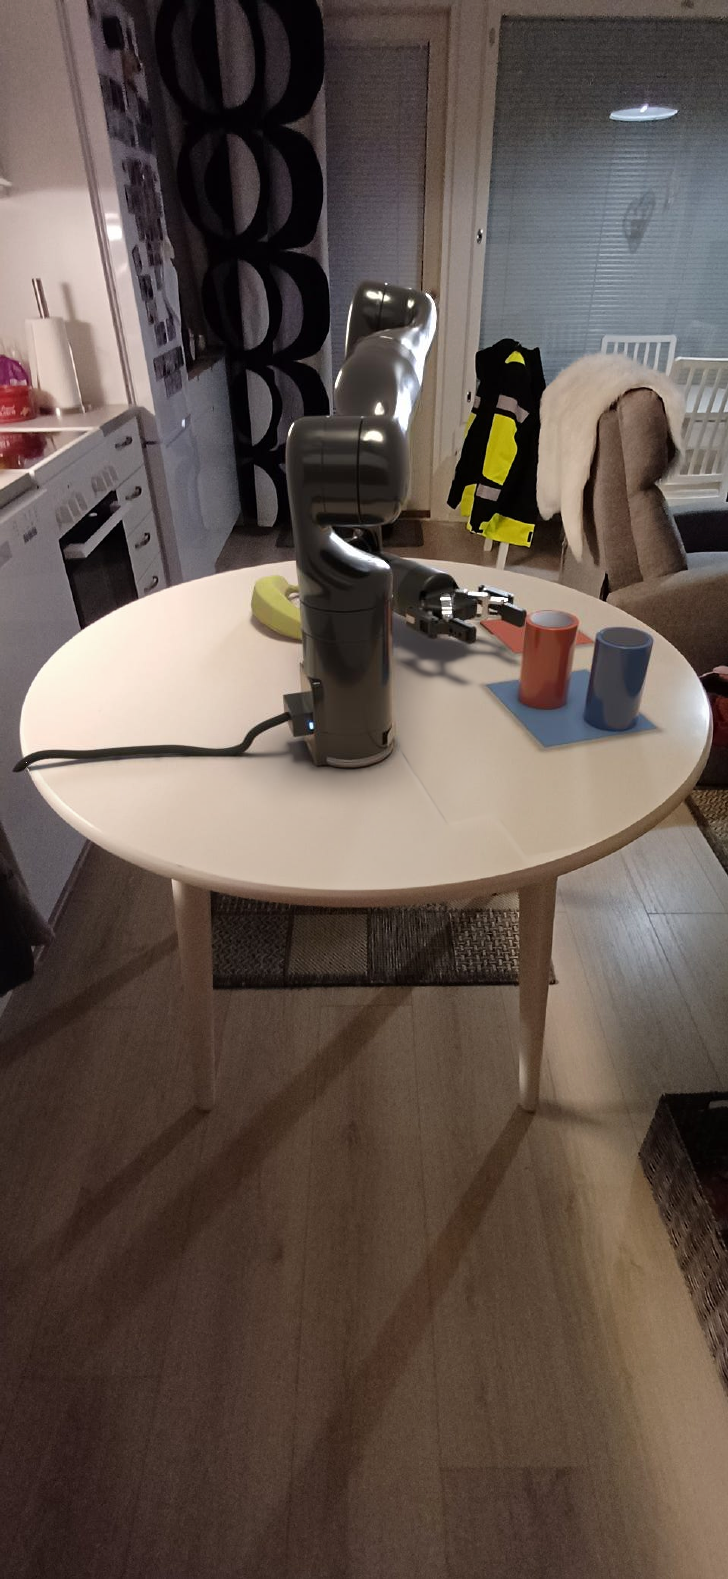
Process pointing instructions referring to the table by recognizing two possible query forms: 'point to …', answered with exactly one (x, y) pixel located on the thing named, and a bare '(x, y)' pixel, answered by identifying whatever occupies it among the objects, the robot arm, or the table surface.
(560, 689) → the red cup
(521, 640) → the red mat
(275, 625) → the banana
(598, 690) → the blue cup
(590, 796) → the table surface
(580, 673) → the blue mat
